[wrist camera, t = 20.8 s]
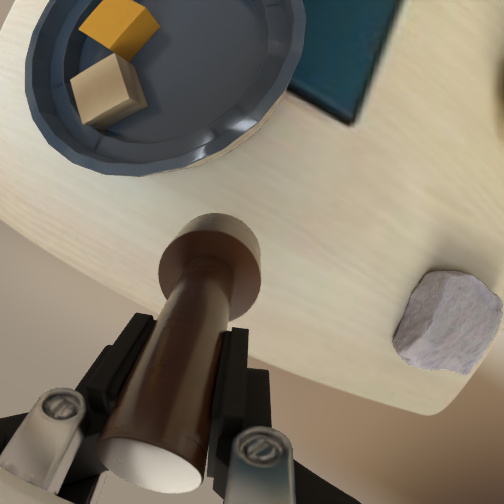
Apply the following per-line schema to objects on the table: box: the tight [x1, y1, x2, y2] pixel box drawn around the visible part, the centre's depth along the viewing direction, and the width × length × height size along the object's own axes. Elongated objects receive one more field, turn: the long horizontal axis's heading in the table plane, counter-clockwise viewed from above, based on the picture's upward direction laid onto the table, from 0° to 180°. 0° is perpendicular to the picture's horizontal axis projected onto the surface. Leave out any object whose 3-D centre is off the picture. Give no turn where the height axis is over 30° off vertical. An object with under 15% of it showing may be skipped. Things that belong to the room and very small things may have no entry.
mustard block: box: [79, 0, 161, 62], centre depth 18 cm, size 4×4×4 cm
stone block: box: [393, 271, 503, 375], centre depth 26 cm, size 12×5×10 cm
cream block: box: [70, 53, 148, 128], centre depth 20 cm, size 4×4×4 cm
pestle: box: [96, 213, 261, 493], centre depth 10 cm, size 4×4×12 cm
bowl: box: [25, 0, 306, 177], centre depth 18 cm, size 21×21×6 cm
